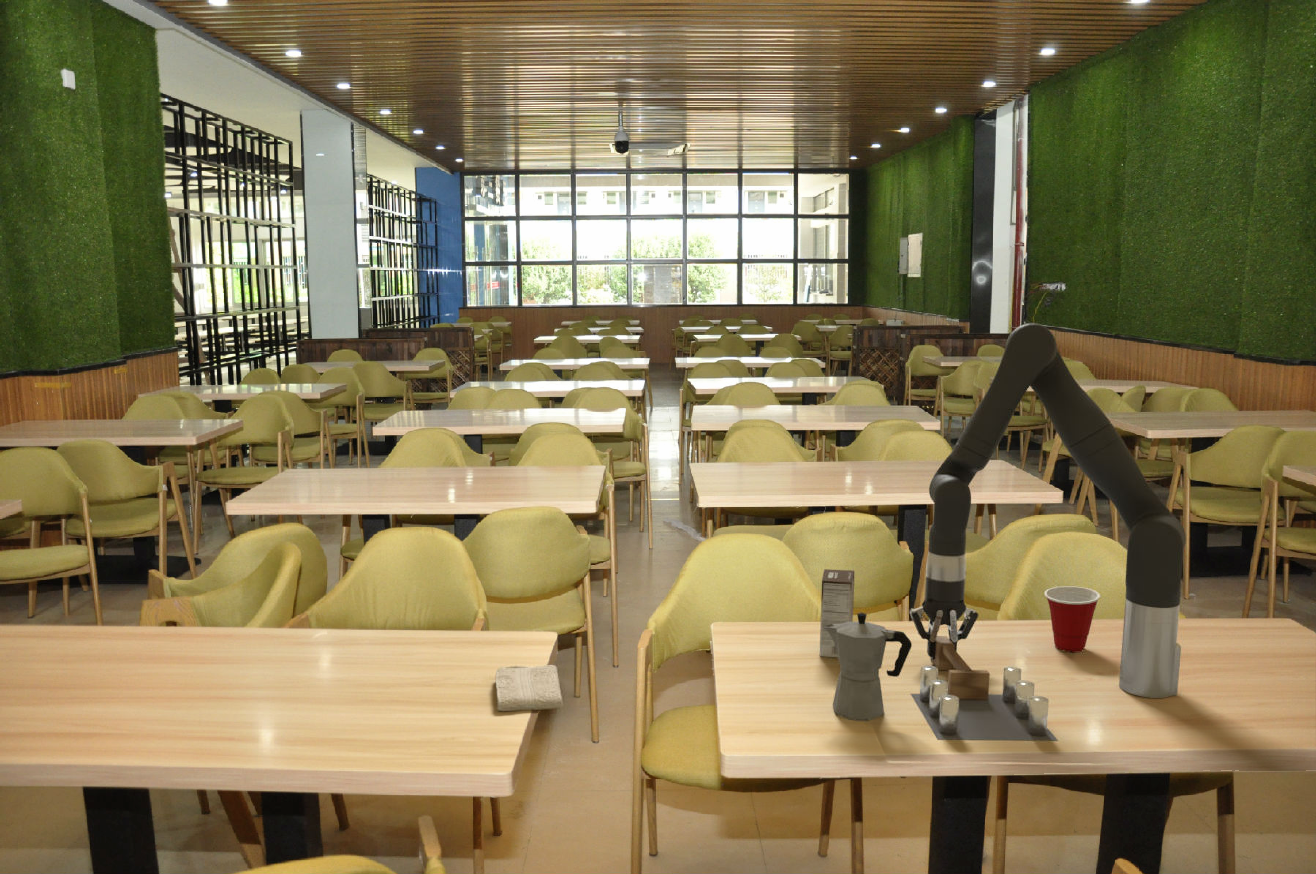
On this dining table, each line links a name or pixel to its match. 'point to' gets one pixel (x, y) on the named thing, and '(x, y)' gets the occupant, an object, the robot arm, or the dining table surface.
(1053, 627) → the plastic cup
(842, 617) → the coffee box
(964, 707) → the spacer mat
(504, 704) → the washcloth
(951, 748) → the dining table surface
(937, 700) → the steel spacers
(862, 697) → the coffeepot
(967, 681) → the wooden mallet
